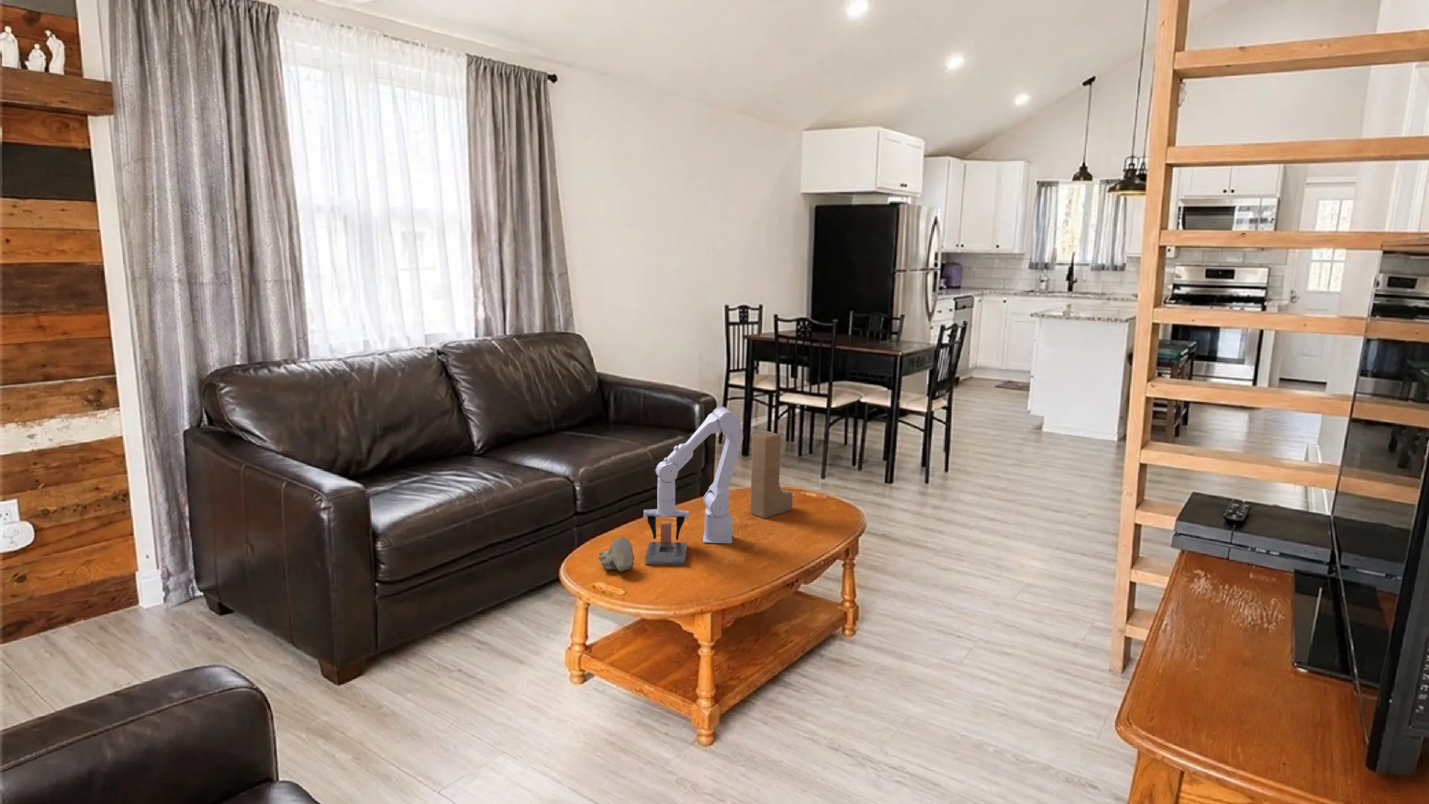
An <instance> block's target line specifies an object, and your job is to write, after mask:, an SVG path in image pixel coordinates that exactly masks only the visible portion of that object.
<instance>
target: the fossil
mask: <svg viewBox="0 0 1429 804" xmlns="http://www.w3.org/2000/svg"><path fill="white" fill-rule="evenodd" d="M598 555H599V556H598V557H597V559H598V560H599V561H600V564H601V565H602V566H603V568H604V569H605V570H606V571H607V570H610V571H611V570H612V571H614V570H617V571H619V572H621V573H624V571H626V570H629V569H631V568H633V567H634V564H635V562H634V560H635V555H634V553H633V545H632V542H631V541H630V540H629V539H628V538H626V537H624V536H623V537H619V538H616V539H613V540H612V542H611V543H610V549H607V550H605V551H603V552H599V553H598Z"/></svg>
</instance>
